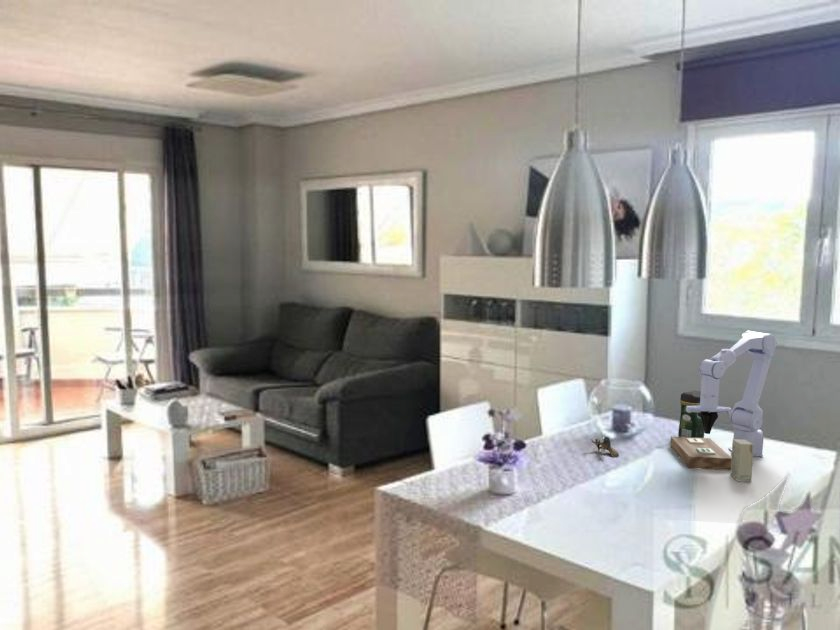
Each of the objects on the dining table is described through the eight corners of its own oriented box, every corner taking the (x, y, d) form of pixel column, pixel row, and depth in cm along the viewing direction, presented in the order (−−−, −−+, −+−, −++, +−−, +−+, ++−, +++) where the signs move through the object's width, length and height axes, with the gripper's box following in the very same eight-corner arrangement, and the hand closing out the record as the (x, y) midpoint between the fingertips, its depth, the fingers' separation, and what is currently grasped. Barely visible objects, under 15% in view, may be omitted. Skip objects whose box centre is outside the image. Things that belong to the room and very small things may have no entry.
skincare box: (751, 482, 224) (754, 444, 223) (738, 481, 224) (740, 444, 223) (743, 475, 230) (745, 438, 229) (729, 475, 230) (732, 438, 229)
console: (709, 448, 259) (709, 438, 258) (731, 470, 235) (732, 458, 235) (670, 446, 260) (670, 436, 260) (688, 468, 236) (689, 456, 236)
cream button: (699, 447, 256) (700, 438, 255) (703, 451, 251) (704, 441, 250) (685, 446, 256) (686, 437, 256) (689, 450, 251) (690, 441, 251)
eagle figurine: (587, 449, 251) (607, 451, 243) (593, 431, 253) (613, 432, 246) (600, 458, 254) (620, 460, 247) (605, 440, 257) (626, 441, 249)
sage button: (710, 457, 244) (710, 447, 243) (714, 462, 239) (715, 452, 239) (695, 457, 244) (696, 447, 244) (699, 461, 239) (700, 451, 239)
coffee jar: (688, 434, 278) (692, 387, 276) (707, 439, 272) (710, 391, 270) (674, 437, 272) (677, 390, 270) (692, 442, 266) (695, 394, 264)
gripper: (691, 396, 240) (689, 435, 241) (735, 398, 238) (732, 437, 240) (685, 392, 247) (683, 429, 248) (728, 393, 245) (725, 431, 247)
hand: (707, 433), depth 245 cm, fingers closed
